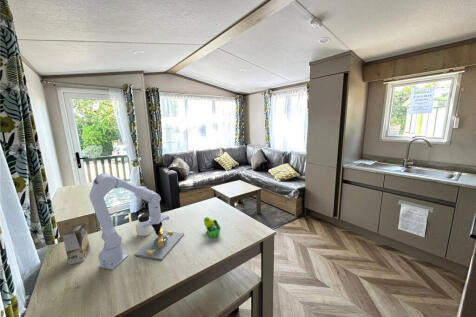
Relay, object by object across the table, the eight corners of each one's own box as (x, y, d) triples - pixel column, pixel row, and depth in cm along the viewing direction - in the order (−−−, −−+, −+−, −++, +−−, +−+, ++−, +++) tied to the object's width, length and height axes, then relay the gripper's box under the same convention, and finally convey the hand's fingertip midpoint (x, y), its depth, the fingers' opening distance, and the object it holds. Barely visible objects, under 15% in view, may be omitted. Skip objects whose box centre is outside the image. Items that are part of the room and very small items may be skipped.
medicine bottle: (154, 229, 121) (151, 212, 119) (147, 236, 114) (145, 217, 112) (143, 228, 122) (141, 211, 119) (136, 235, 115) (134, 217, 112)
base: (161, 260, 94) (161, 256, 94) (134, 255, 98) (134, 251, 97) (184, 234, 115) (183, 231, 114) (161, 231, 119) (160, 228, 118)
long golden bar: (154, 249, 99) (153, 243, 98) (154, 235, 110) (153, 229, 110) (168, 245, 101) (167, 239, 100) (167, 232, 113) (166, 227, 112)
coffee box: (84, 261, 94) (78, 232, 91) (68, 265, 92) (61, 235, 89) (91, 249, 103) (85, 223, 99) (76, 253, 101) (70, 225, 97)
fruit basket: (221, 236, 112) (220, 219, 110) (206, 240, 109) (205, 222, 107) (216, 226, 123) (215, 210, 120) (202, 229, 119) (201, 213, 117)
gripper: (143, 220, 99) (146, 243, 102) (170, 211, 109) (172, 232, 111) (139, 215, 105) (142, 237, 107) (165, 207, 114) (168, 227, 117)
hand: (157, 234), depth 110 cm, fingers closed, pressing on long golden bar
